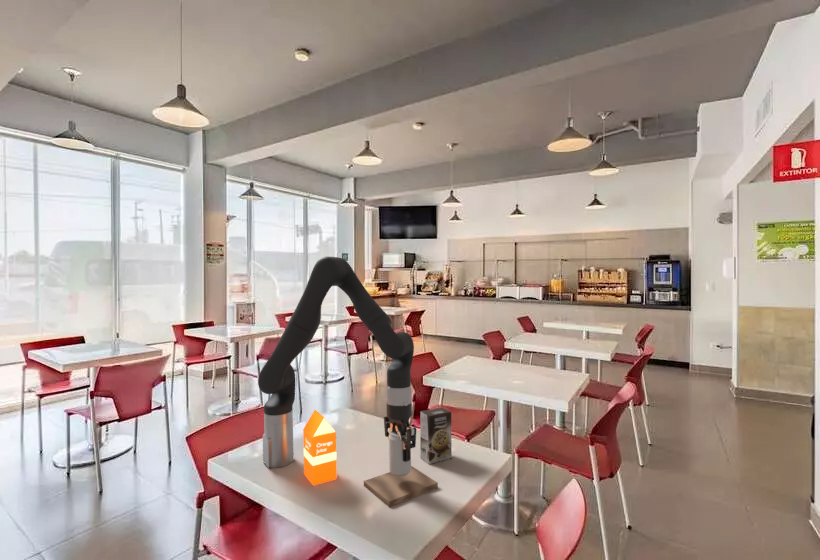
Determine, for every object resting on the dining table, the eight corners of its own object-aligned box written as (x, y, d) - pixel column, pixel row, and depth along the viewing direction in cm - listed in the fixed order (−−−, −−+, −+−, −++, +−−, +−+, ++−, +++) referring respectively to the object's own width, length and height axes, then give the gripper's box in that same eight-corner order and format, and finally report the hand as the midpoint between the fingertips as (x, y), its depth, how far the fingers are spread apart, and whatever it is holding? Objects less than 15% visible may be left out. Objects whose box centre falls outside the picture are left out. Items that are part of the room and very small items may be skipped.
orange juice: (312, 485, 124) (311, 419, 124) (303, 474, 132) (302, 411, 131) (337, 478, 128) (336, 414, 128) (327, 467, 136) (326, 406, 136)
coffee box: (429, 465, 137) (428, 416, 136) (419, 457, 142) (419, 410, 142) (452, 458, 141) (452, 411, 141) (442, 451, 147) (441, 406, 146)
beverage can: (408, 478, 119) (408, 436, 119) (387, 476, 120) (386, 435, 120) (412, 468, 125) (412, 428, 125) (392, 466, 127) (391, 427, 126)
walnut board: (389, 507, 112) (389, 501, 112) (363, 486, 124) (363, 481, 124) (437, 487, 122) (437, 482, 122) (410, 469, 133) (410, 465, 133)
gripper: (375, 397, 126) (376, 451, 126) (402, 409, 114) (403, 469, 115) (396, 392, 131) (396, 445, 131) (424, 404, 119) (424, 462, 119)
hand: (399, 456), depth 123 cm, fingers closed on beverage can, 6 cm apart
